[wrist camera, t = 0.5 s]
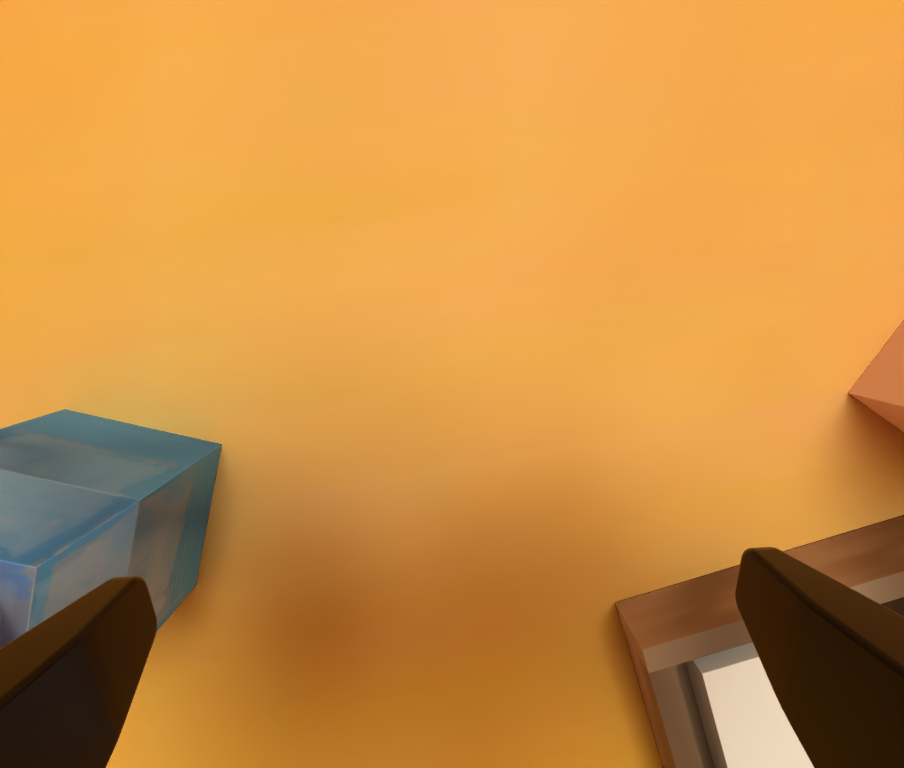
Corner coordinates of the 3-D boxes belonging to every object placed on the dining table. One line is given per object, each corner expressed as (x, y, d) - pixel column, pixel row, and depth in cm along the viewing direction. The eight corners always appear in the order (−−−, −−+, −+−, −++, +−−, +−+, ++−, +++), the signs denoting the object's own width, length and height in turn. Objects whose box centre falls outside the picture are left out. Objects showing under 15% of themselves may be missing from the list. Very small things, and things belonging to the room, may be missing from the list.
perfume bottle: (65, 409, 22) (-368, 541, 10) (221, 444, 22) (-23, 610, 11) (45, 553, 23) (-375, 827, 11) (195, 585, 23) (-56, 882, 12)
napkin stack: (875, 736, 24) (914, 775, 22) (718, 781, 24) (743, 825, 22) (844, 592, 23) (881, 620, 21) (679, 641, 23) (702, 673, 21)
